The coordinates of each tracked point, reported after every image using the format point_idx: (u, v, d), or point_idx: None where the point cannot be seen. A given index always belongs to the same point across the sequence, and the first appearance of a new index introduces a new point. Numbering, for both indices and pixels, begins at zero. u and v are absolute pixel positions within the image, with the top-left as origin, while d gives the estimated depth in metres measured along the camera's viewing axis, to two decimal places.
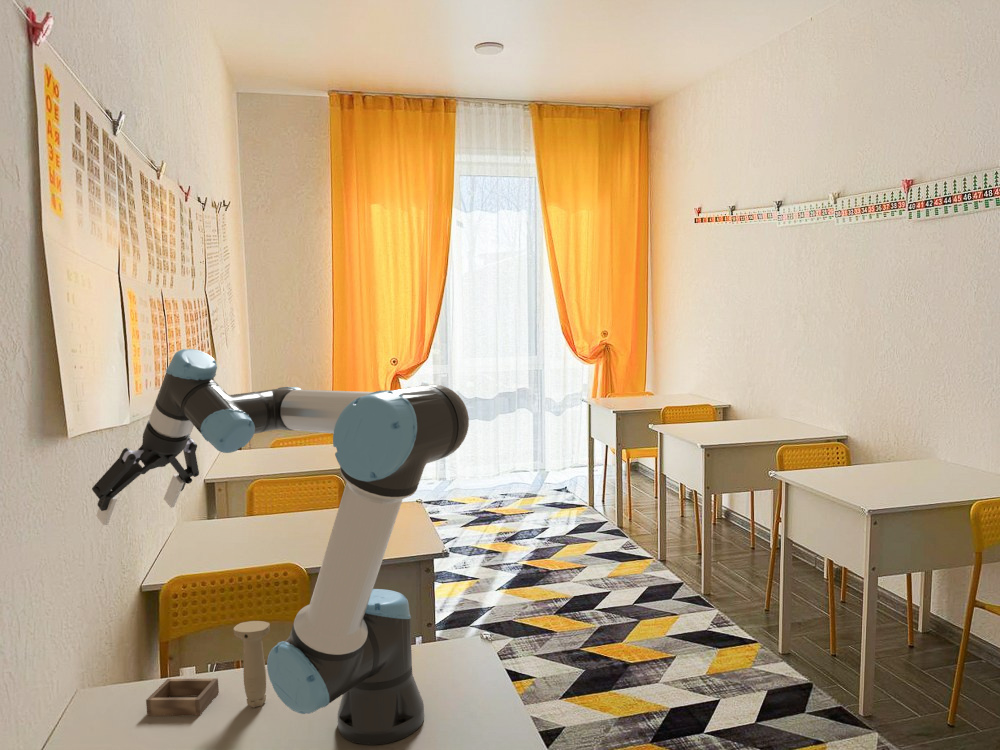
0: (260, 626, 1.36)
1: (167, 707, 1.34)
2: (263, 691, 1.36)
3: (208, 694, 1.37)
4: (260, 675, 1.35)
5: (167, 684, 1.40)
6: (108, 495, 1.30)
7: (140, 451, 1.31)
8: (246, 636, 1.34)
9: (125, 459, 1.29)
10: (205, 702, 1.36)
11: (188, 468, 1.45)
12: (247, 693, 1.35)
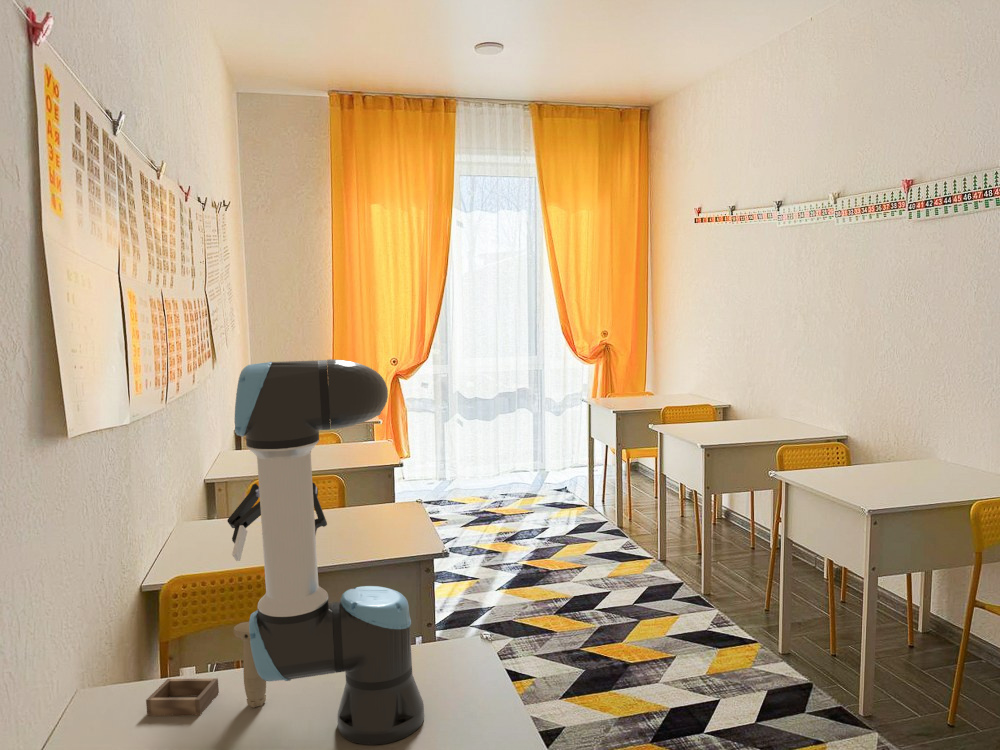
0: None
1: (167, 707, 1.34)
2: (263, 691, 1.36)
3: (208, 694, 1.37)
4: None
5: (167, 684, 1.40)
6: (236, 521, 1.50)
7: None
8: (246, 636, 1.34)
9: None
10: (205, 702, 1.36)
11: None
12: (247, 693, 1.35)
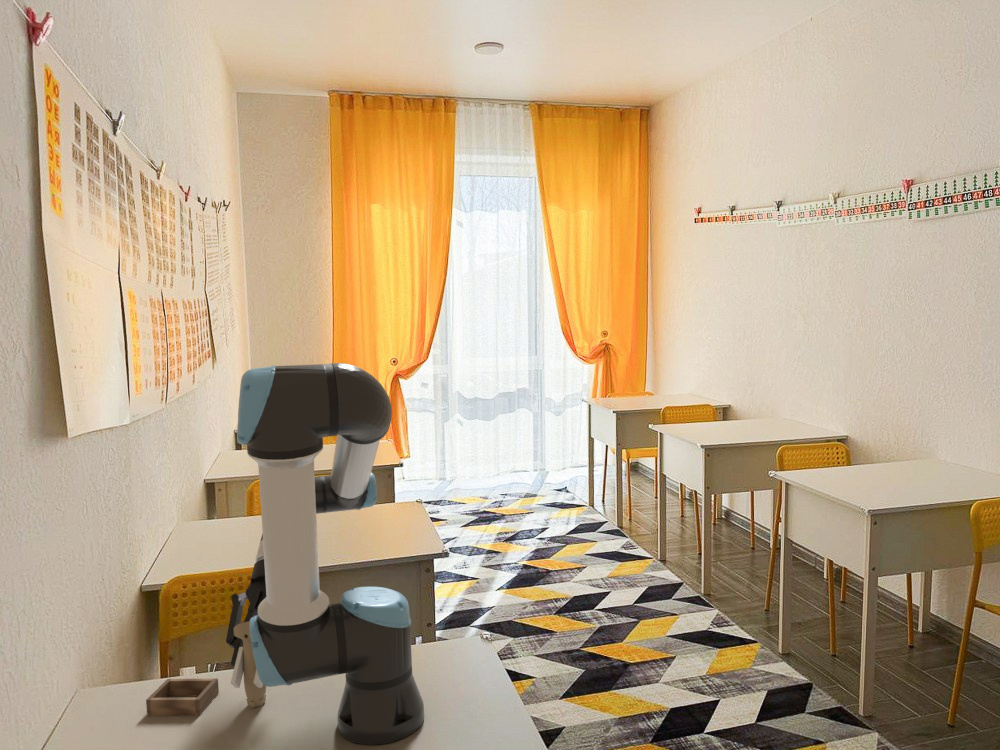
0: None
1: (167, 707, 1.34)
2: (263, 691, 1.36)
3: (208, 694, 1.37)
4: None
5: (167, 684, 1.40)
6: (235, 643, 1.37)
7: (246, 592, 1.44)
8: (246, 636, 1.34)
9: None
10: (205, 702, 1.36)
11: None
12: (247, 693, 1.35)
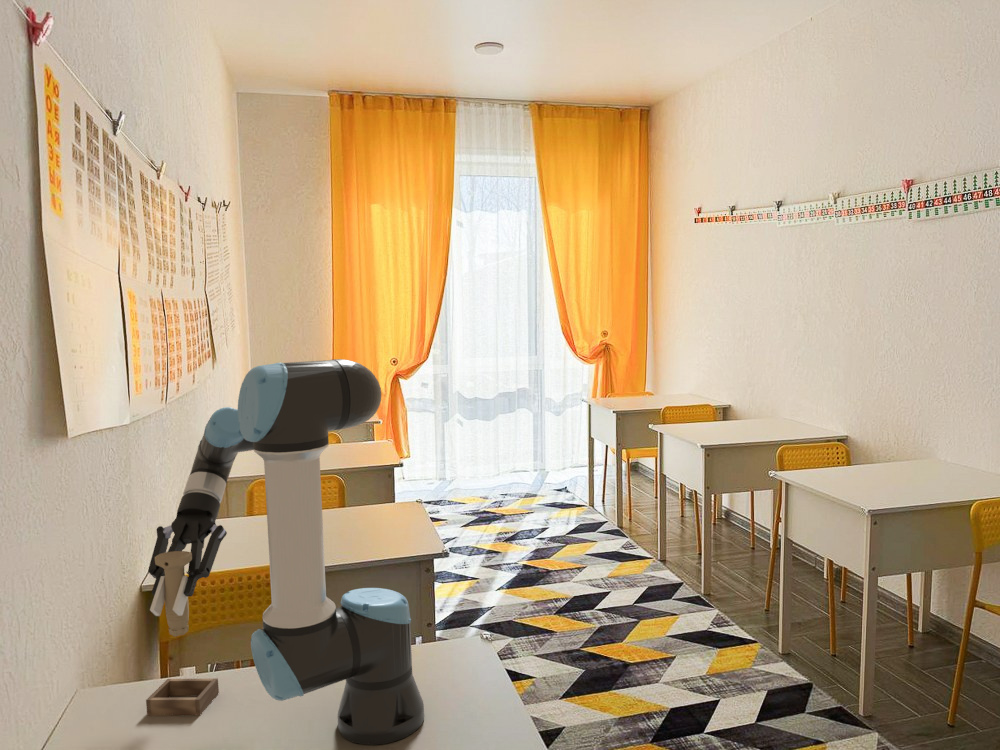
0: (181, 555, 1.36)
1: (167, 707, 1.34)
2: (185, 620, 1.36)
3: (208, 694, 1.37)
4: None
5: (167, 684, 1.40)
6: (157, 573, 1.37)
7: None
8: (167, 564, 1.34)
9: None
10: (205, 702, 1.36)
11: None
12: (168, 622, 1.35)
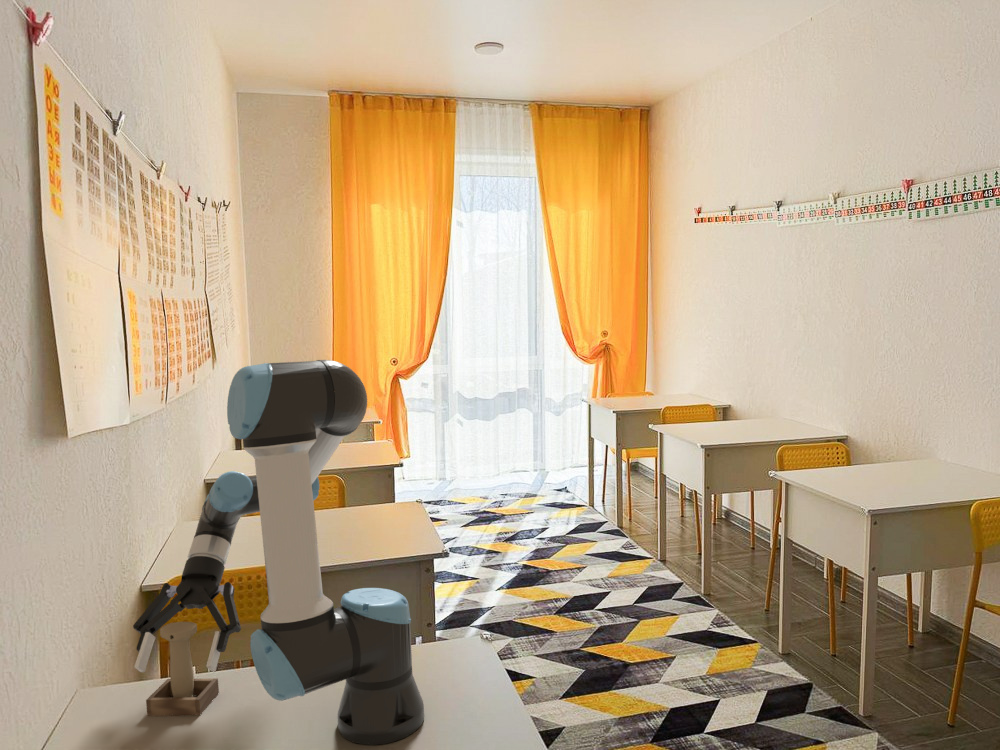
0: (186, 627, 1.37)
1: (167, 707, 1.34)
2: (190, 691, 1.37)
3: (208, 694, 1.37)
4: (187, 675, 1.36)
5: (167, 684, 1.40)
6: (142, 627, 1.39)
7: None
8: (172, 637, 1.35)
9: None
10: (205, 702, 1.36)
11: None
12: (174, 693, 1.36)
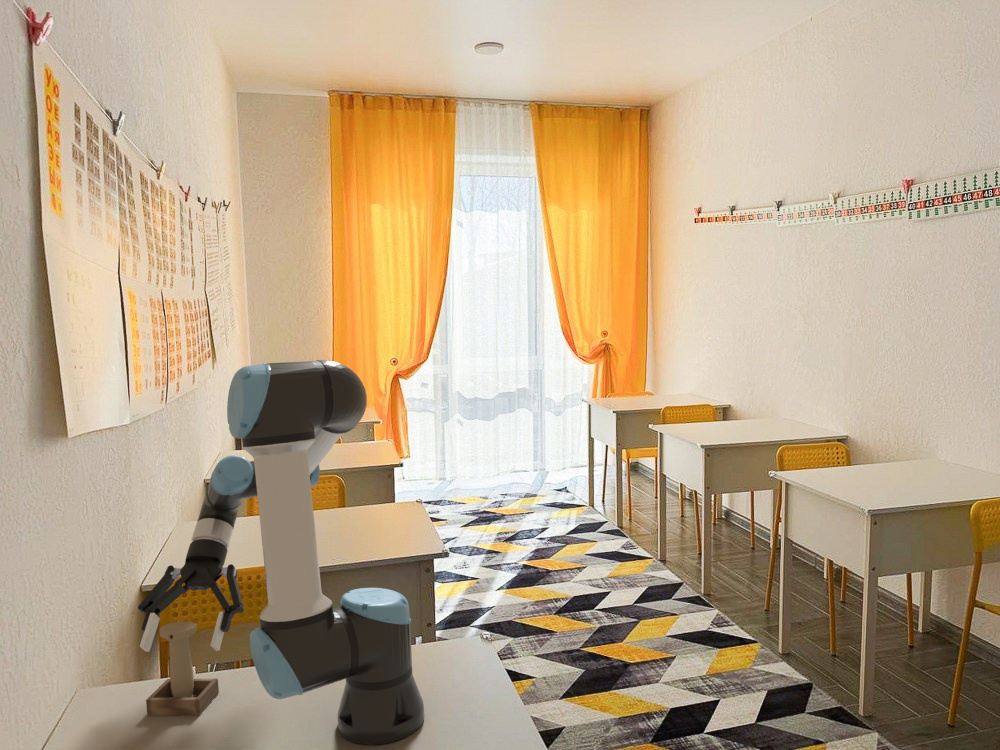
0: (186, 626, 1.37)
1: (167, 707, 1.34)
2: (190, 691, 1.37)
3: (208, 694, 1.37)
4: (187, 675, 1.36)
5: (167, 684, 1.40)
6: (147, 608, 1.42)
7: None
8: (171, 636, 1.35)
9: None
10: (205, 702, 1.36)
11: None
12: (173, 693, 1.36)
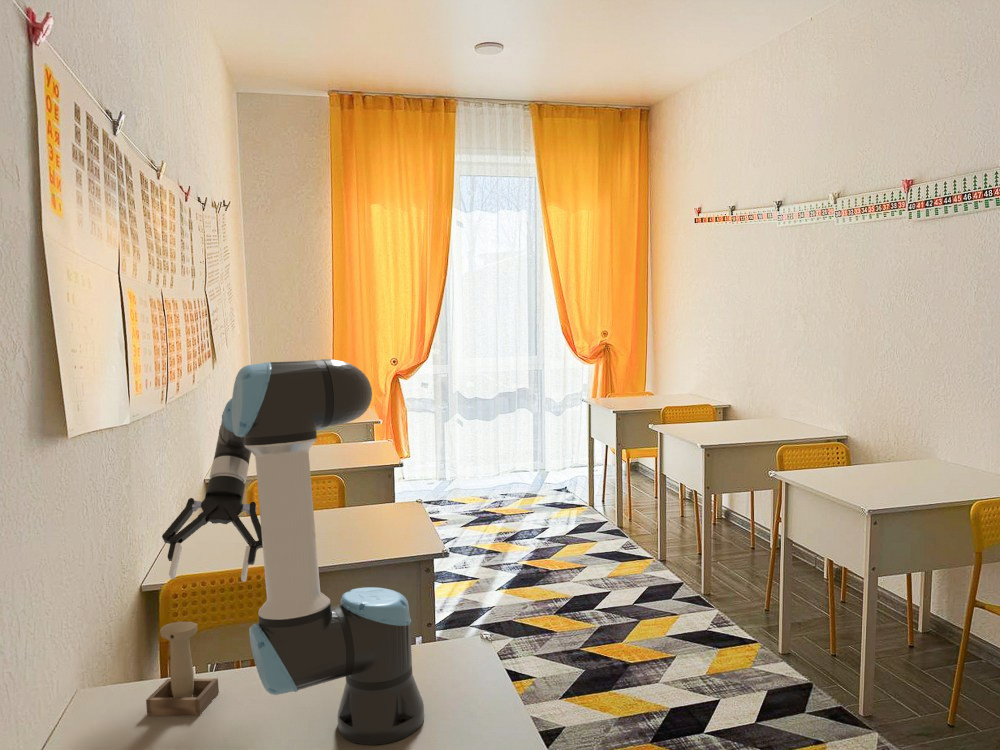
0: (187, 626, 1.37)
1: (167, 707, 1.34)
2: (190, 691, 1.37)
3: (208, 694, 1.37)
4: (187, 675, 1.36)
5: (167, 684, 1.40)
6: (172, 538, 1.48)
7: (202, 502, 1.54)
8: (172, 636, 1.35)
9: None
10: (205, 702, 1.36)
11: None
12: (174, 693, 1.36)
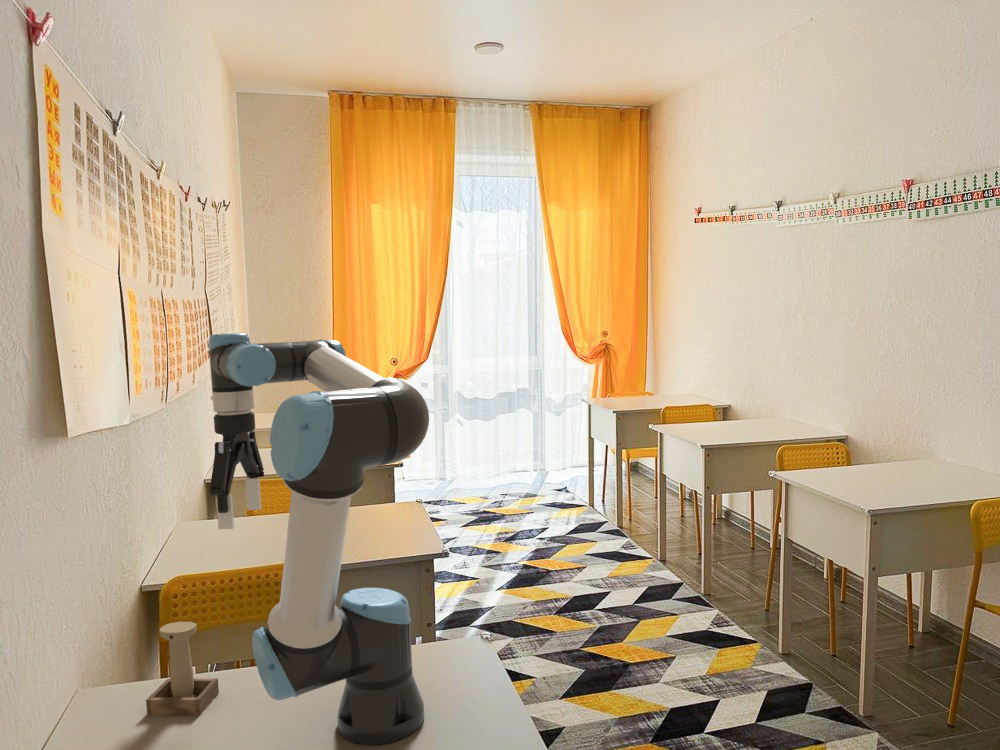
0: (186, 626, 1.37)
1: (167, 707, 1.34)
2: (190, 691, 1.37)
3: (208, 694, 1.37)
4: (187, 675, 1.36)
5: (167, 684, 1.40)
6: (226, 491, 1.36)
7: (226, 442, 1.39)
8: (171, 637, 1.35)
9: (222, 449, 1.37)
10: (205, 702, 1.36)
11: None
12: (173, 693, 1.36)
